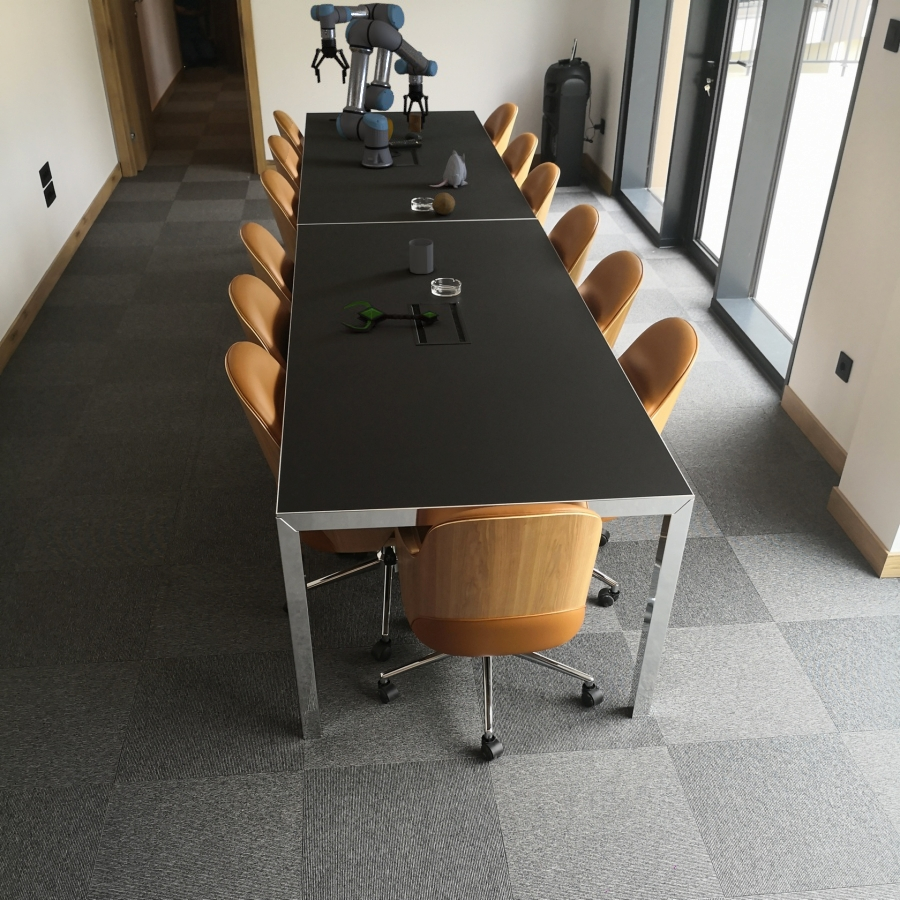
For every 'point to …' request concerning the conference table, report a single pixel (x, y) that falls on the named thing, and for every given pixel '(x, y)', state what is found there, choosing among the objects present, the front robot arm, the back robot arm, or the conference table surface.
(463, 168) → the toy
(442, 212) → the potato
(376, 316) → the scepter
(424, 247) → the cup
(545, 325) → the conference table surface
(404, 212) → the conference table surface
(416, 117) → the brick
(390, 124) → the apple
